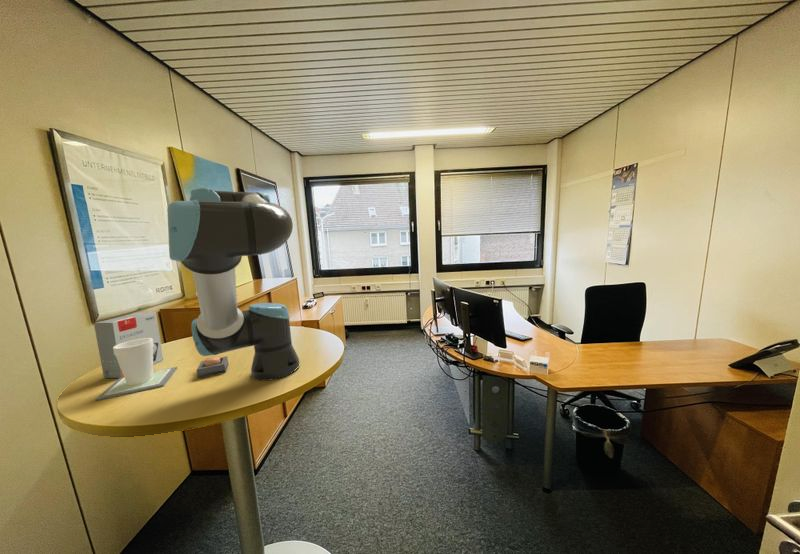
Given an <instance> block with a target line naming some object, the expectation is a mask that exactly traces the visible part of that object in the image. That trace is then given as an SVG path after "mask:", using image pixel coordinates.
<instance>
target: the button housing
mask: <svg viewBox="0 0 800 554" xmlns="http://www.w3.org/2000/svg"><path fill="white" fill-rule="evenodd" d="M228 357H229V356H228V355H227V356H223V357H222V356H221V357H220V361H221V364H217V365H212V366H207V367H205V362H204V360H201V362H200V363H199V365H198V367H196V375H197V376H196V377H197V379H201V378H202V379H203V378H206V377H210V376H216V375H221V374H224V373H226V372H227V369H228V366H229V358H228Z"/></svg>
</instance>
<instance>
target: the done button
mask: <svg viewBox="0 0 800 554" xmlns="http://www.w3.org/2000/svg"><path fill="white" fill-rule="evenodd" d="M220 358H221V357H220V356H219V355H213V356H210V357H207V358H205V359H204V360H203V361H204V362H205V367H207V366H212V365H217V364H221V361H220Z"/></svg>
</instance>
